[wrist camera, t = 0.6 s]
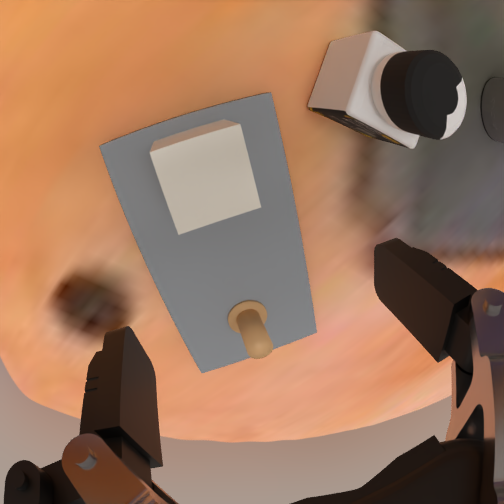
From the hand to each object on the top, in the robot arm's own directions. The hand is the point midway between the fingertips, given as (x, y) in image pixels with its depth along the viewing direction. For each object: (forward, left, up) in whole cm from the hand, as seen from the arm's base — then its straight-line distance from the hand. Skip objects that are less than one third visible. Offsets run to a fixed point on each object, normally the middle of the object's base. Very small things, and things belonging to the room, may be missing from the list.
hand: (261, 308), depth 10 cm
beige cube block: (0, -1, -18) cm, 18 cm away
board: (0, +8, -19) cm, 20 cm away
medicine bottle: (-15, -4, -19) cm, 25 cm away
